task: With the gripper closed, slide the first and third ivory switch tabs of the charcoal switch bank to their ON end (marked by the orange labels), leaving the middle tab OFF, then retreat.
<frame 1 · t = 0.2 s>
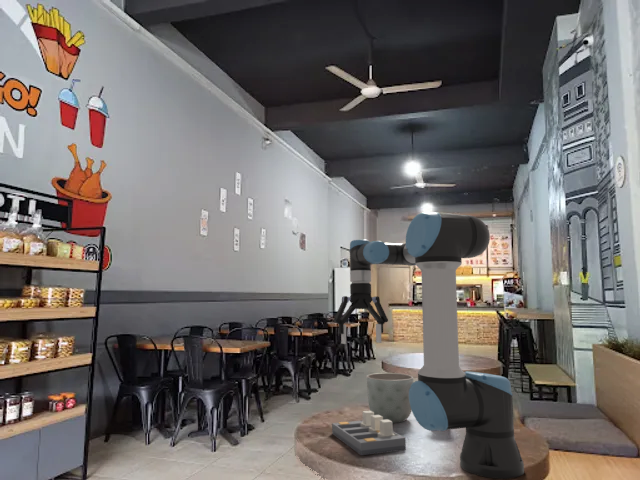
hand: (361, 343, 157), 28 cm above the table, fingers open, 13 cm apart
tab 2: (376, 425, 137), point 4 cm above the table, slide at 0.0 cm
paper cup: (441, 428, 150), on the table
tab 3: (368, 420, 142), point 4 cm above the table, slide at 0.0 cm
tab 1: (386, 430, 131), point 4 cm above the table, slide at 0.0 cm
concrete flower pot: (390, 420, 160), on the table
switch bank: (366, 441, 135), on the table
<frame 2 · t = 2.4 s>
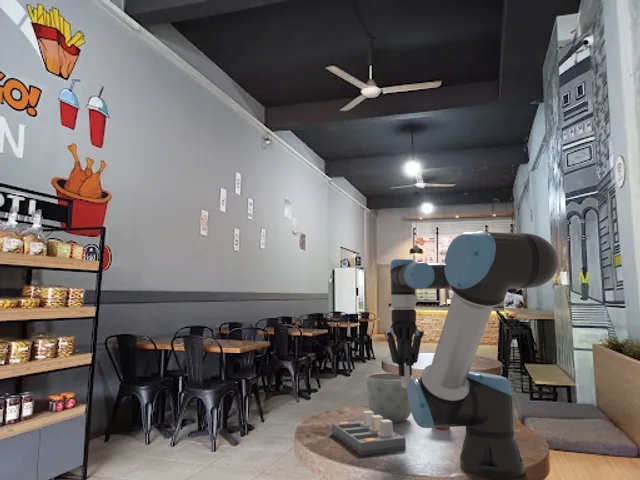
hand: (405, 387, 135), 16 cm above the table, fingers closed
nothing on the table moved.
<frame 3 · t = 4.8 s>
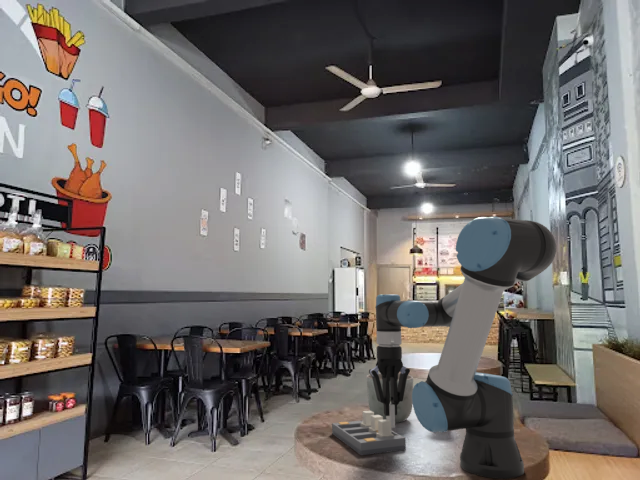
hand: (390, 426, 132), 5 cm above the table, fingers closed
tab 1: (384, 430, 131), point 4 cm above the table, slide at 0.5 cm, touching gripper
everything else where it was.
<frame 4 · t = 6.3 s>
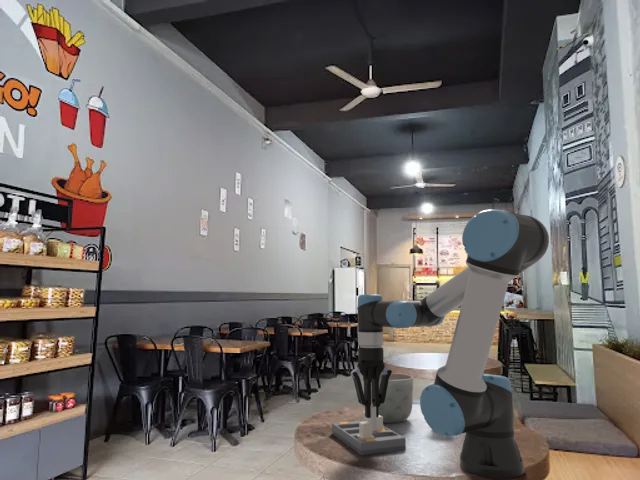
hand: (372, 429, 130), 5 cm above the table, fingers closed
tab 1: (365, 433, 129), point 4 cm above the table, slide at 6.7 cm, touching gripper
everything else where it was.
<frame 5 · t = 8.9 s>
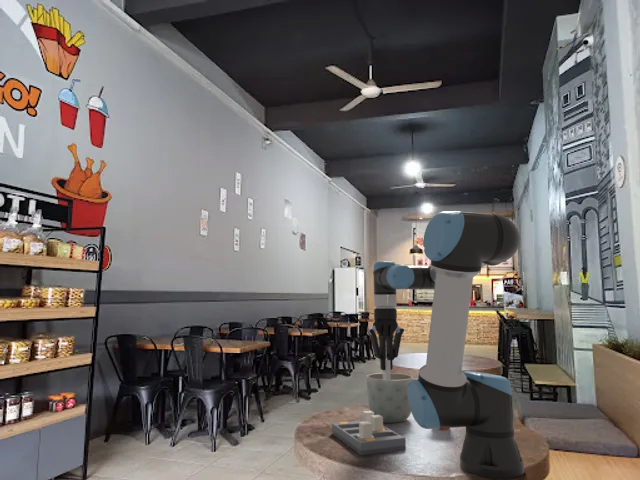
hand: (386, 380, 147), 16 cm above the table, fingers closed
tab 1: (365, 433, 129), point 4 cm above the table, slide at 6.7 cm
everything else where it was.
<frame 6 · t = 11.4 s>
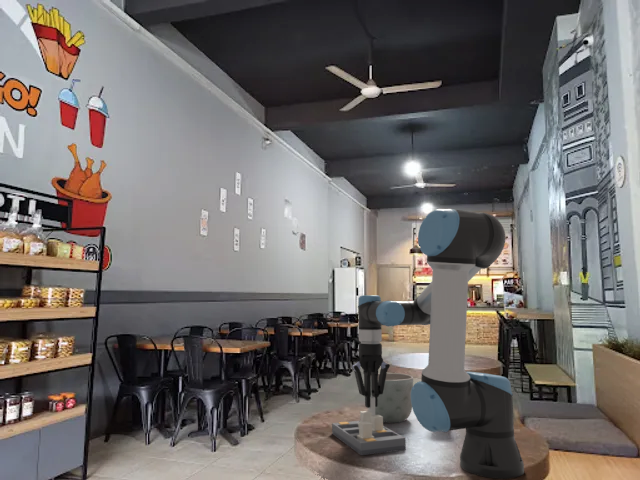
hand: (371, 417, 143), 5 cm above the table, fingers closed
tab 3: (365, 421, 142), point 4 cm above the table, slide at 0.9 cm, touching gripper
everything else where it was.
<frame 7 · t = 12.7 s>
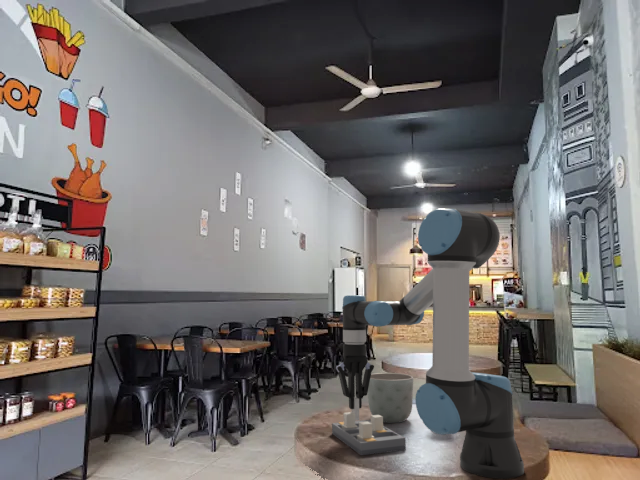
hand: (355, 419, 141), 5 cm above the table, fingers closed
tab 3: (349, 422, 140), point 4 cm above the table, slide at 6.6 cm, touching gripper
everything else where it was.
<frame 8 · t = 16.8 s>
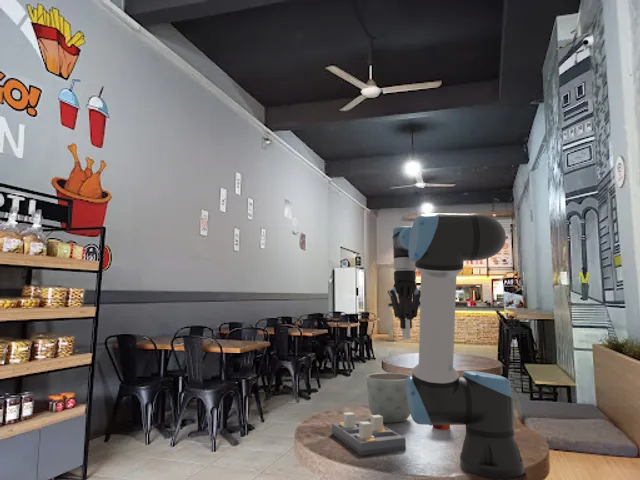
hand: (406, 338, 154), 29 cm above the table, fingers closed
tab 3: (349, 422, 140), point 4 cm above the table, slide at 6.7 cm
everything else where it was.
at the end: tab 1 slide at 6.7 cm; tab 3 slide at 6.7 cm; tab 2 slide at 0.0 cm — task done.
